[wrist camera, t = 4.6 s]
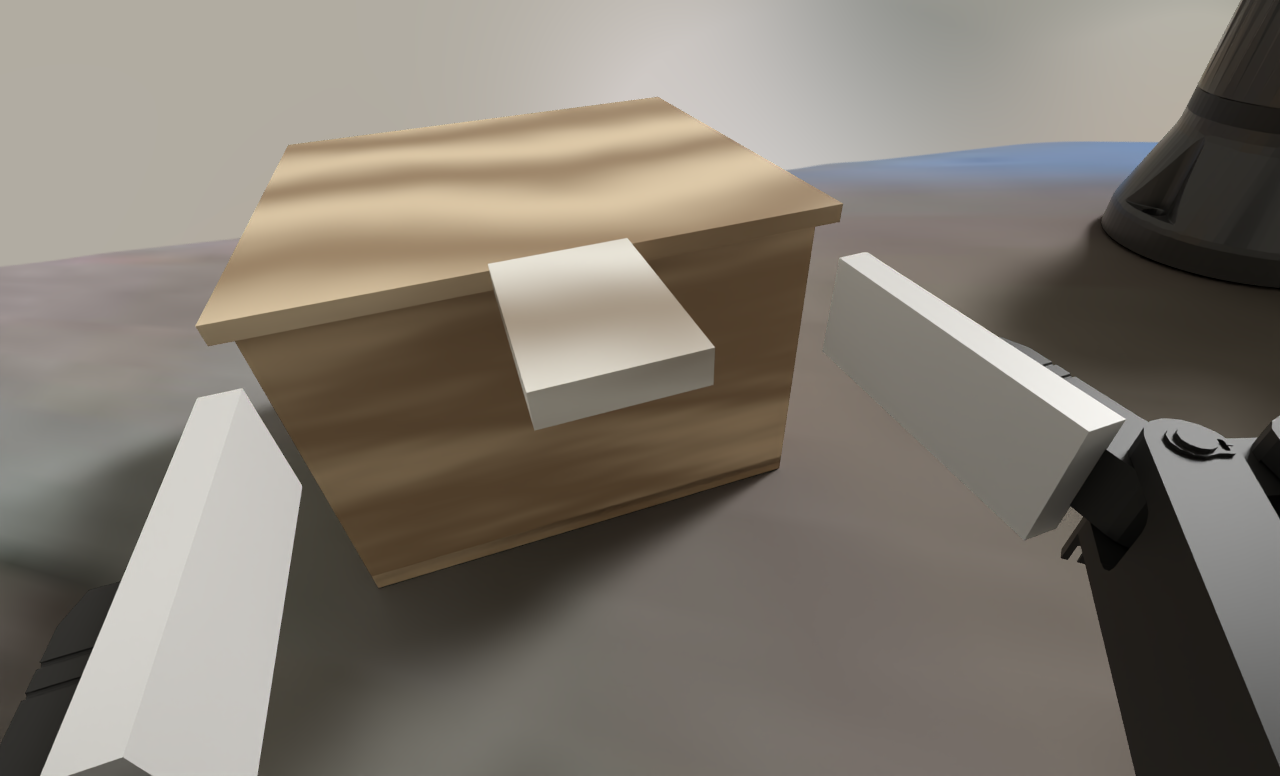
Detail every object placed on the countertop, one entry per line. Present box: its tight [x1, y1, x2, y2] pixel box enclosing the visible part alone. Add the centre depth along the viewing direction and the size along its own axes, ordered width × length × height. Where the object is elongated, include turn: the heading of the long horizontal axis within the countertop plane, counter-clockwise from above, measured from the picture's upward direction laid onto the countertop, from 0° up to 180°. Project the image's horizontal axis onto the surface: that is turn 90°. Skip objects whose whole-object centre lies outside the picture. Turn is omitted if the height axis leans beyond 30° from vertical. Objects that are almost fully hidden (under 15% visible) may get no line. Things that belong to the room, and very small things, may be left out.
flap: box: [196, 97, 843, 431], centre depth 21 cm, size 23×18×1 cm
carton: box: [235, 227, 815, 588], centre depth 27 cm, size 16×18×12 cm
